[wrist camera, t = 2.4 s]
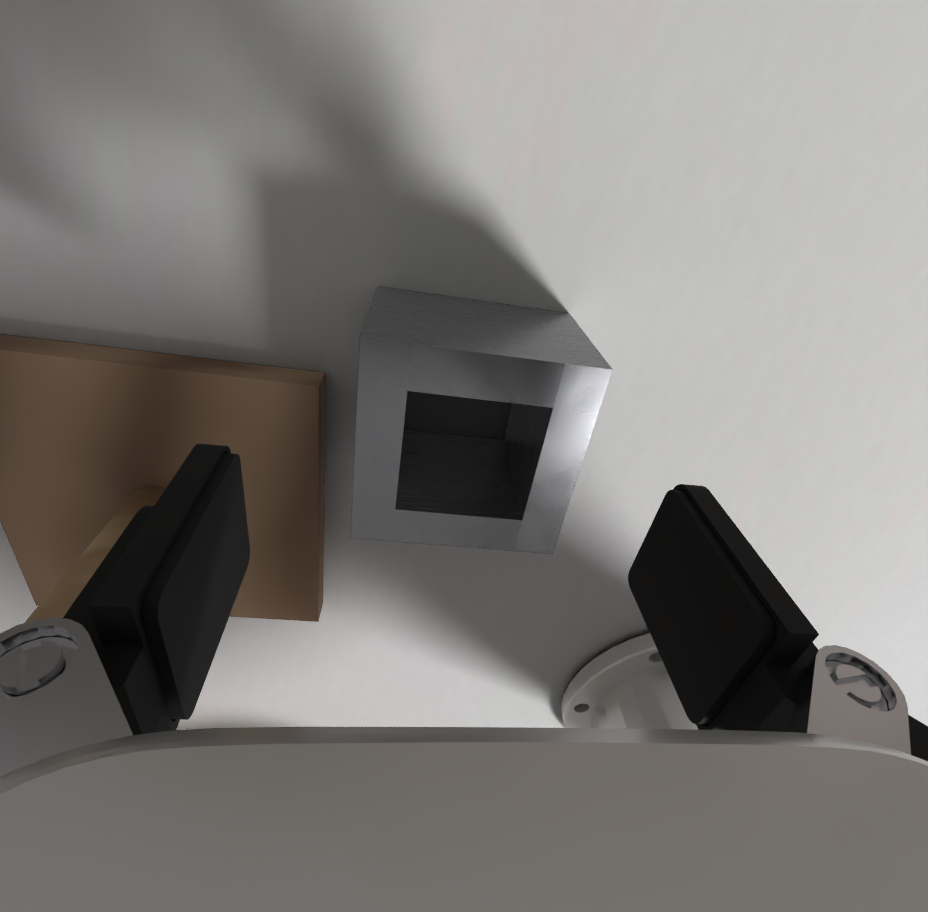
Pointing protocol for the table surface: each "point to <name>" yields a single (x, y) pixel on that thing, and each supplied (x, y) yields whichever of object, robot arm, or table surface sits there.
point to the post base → (156, 462)
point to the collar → (463, 457)
